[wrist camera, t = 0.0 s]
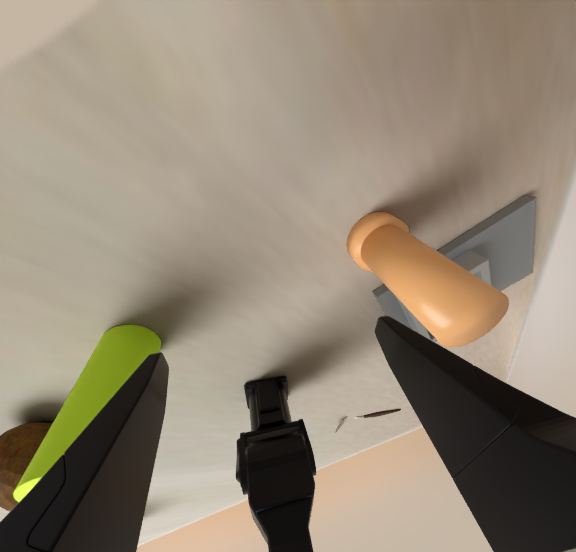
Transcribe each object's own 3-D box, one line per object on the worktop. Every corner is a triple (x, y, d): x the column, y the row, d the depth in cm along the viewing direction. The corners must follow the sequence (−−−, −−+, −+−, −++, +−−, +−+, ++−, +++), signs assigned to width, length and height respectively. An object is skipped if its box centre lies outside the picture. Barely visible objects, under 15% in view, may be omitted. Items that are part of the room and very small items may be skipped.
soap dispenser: (92, 317, 24) (-192, 739, 8) (166, 330, 27) (71, 658, 11) (87, 355, 26) (-136, 735, 10) (155, 363, 29) (65, 670, 13)
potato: (43, 401, 29) (-9, 480, 23) (117, 437, 36) (94, 504, 30) (-17, 426, 29) (-85, 511, 23) (69, 456, 36) (36, 527, 30)
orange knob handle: (390, 259, 28) (489, 345, 17) (343, 265, 27) (417, 359, 16) (404, 209, 25) (537, 278, 14) (351, 213, 24) (451, 291, 13)
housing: (400, 339, 38) (416, 358, 35) (372, 291, 30) (388, 310, 27) (524, 268, 34) (552, 282, 31) (525, 194, 27) (562, 204, 24)
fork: (397, 410, 53) (402, 419, 52) (331, 423, 50) (335, 433, 48) (401, 404, 52) (407, 413, 50) (334, 417, 48) (337, 427, 47)
